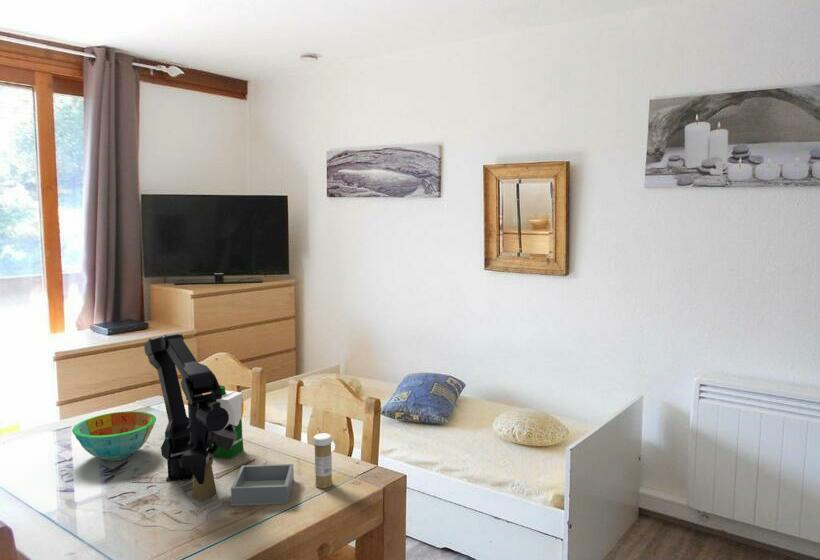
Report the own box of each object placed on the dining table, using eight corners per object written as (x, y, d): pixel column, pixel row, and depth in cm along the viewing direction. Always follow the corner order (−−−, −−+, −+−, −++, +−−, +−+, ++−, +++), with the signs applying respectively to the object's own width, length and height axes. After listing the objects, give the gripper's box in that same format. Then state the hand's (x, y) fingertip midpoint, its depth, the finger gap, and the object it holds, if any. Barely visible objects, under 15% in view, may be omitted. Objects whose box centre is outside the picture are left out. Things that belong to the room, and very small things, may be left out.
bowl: (56, 464, 181) (53, 430, 180) (118, 437, 201) (116, 407, 200) (115, 476, 173) (113, 441, 171) (174, 447, 193) (172, 415, 192)
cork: (209, 501, 158) (207, 458, 157) (187, 499, 159) (185, 457, 158) (221, 490, 164) (219, 449, 163) (199, 488, 165) (197, 448, 164)
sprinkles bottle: (329, 480, 170) (328, 431, 168) (334, 486, 166) (333, 437, 164) (312, 483, 168) (311, 434, 166) (318, 490, 164) (316, 440, 162)
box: (231, 506, 155) (230, 488, 155) (242, 481, 169) (241, 465, 168) (287, 503, 156) (287, 486, 156) (293, 479, 170) (293, 463, 169)
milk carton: (222, 446, 194) (220, 382, 191) (248, 449, 191) (245, 385, 189) (204, 457, 186) (201, 390, 183) (231, 460, 183) (228, 393, 180)
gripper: (225, 432, 151) (228, 495, 152) (240, 407, 169) (242, 463, 171) (177, 434, 150) (180, 497, 152) (197, 408, 168) (200, 465, 170)
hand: (203, 479), depth 161 cm, fingers closed on cork, 4 cm apart
